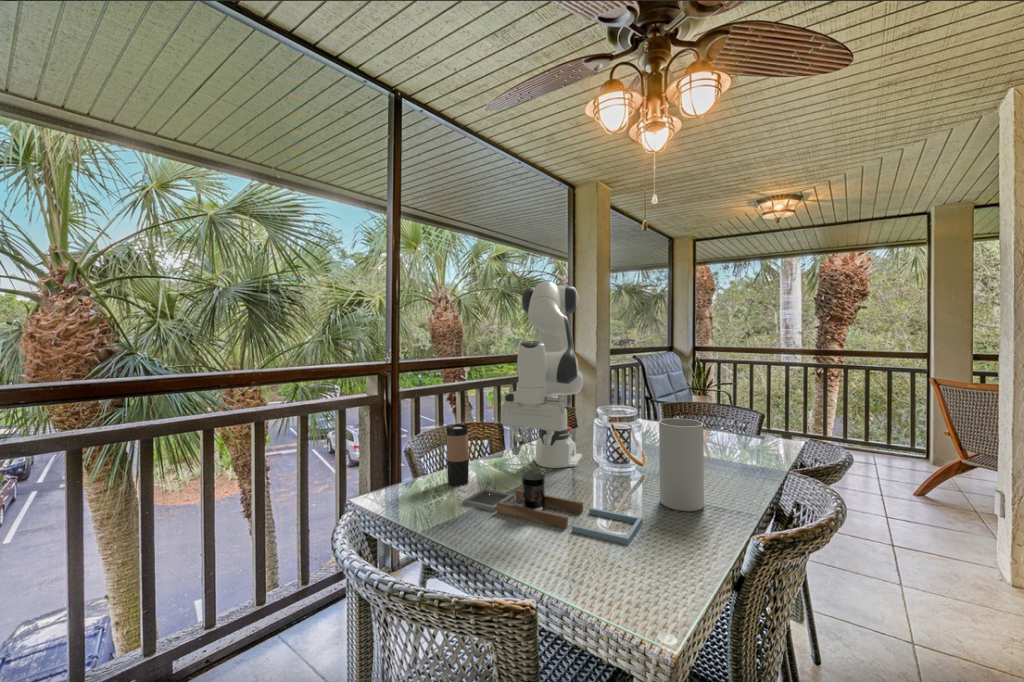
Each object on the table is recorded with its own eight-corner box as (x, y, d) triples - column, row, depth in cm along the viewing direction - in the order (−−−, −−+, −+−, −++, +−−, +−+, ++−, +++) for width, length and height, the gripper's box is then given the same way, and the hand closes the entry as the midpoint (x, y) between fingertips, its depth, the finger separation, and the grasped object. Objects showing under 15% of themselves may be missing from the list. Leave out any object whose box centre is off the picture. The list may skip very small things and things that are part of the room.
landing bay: (590, 512, 127) (590, 507, 127) (642, 523, 120) (642, 517, 120) (571, 531, 115) (571, 526, 115) (628, 544, 108) (628, 538, 108)
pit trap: (484, 492, 145) (484, 488, 145) (514, 498, 139) (514, 494, 139) (462, 504, 135) (462, 500, 135) (494, 511, 129) (493, 507, 129)
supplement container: (536, 505, 133) (536, 471, 133) (550, 512, 128) (549, 477, 128) (518, 510, 130) (517, 475, 130) (530, 518, 124) (530, 481, 124)
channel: (517, 498, 139) (517, 489, 139) (583, 512, 128) (582, 502, 128) (497, 512, 128) (496, 502, 128) (566, 528, 117) (565, 517, 117)
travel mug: (467, 486, 150) (466, 429, 150) (445, 486, 151) (444, 429, 150) (470, 479, 158) (469, 424, 158) (449, 479, 158) (448, 424, 158)
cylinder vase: (708, 514, 125) (707, 427, 125) (662, 511, 128) (662, 426, 127) (698, 497, 137) (698, 418, 137) (657, 495, 140) (656, 417, 139)
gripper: (569, 397, 126) (569, 444, 126) (508, 393, 136) (509, 437, 136) (560, 399, 120) (560, 449, 120) (497, 395, 131) (498, 441, 131)
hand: (532, 443), depth 128 cm, fingers open, 8 cm apart
